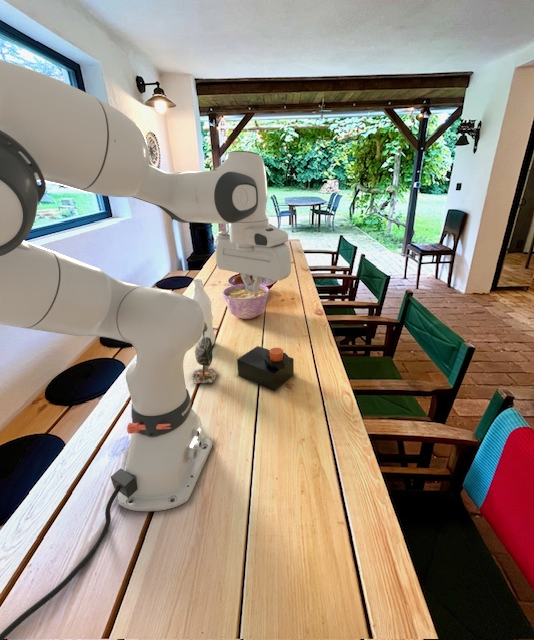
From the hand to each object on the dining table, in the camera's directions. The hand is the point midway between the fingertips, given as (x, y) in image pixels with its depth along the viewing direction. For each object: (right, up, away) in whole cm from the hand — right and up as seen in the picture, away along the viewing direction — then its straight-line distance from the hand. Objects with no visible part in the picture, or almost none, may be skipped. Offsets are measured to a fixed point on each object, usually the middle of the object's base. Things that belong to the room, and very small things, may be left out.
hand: (252, 291), depth 78 cm
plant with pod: (-16, -24, +23) cm, 37 cm away
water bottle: (-19, -16, +41) cm, 48 cm away
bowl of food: (-5, -5, +65) cm, 65 cm away
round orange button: (+6, -18, +16) cm, 25 cm away
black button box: (+3, -24, +22) cm, 33 cm away
